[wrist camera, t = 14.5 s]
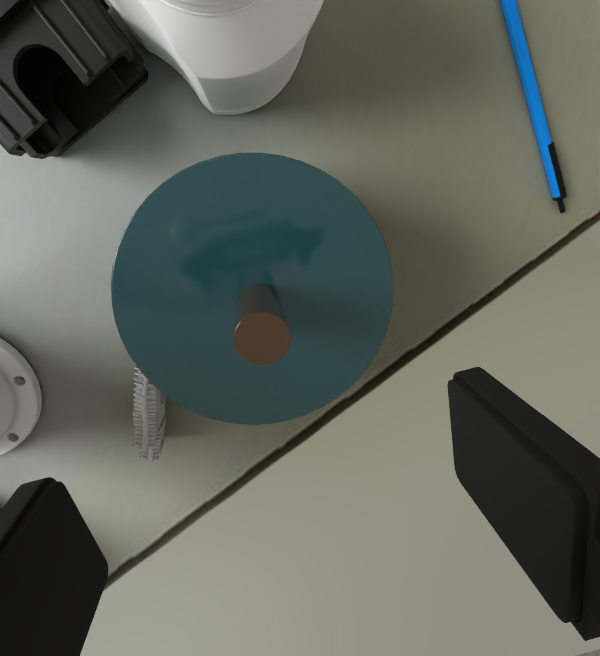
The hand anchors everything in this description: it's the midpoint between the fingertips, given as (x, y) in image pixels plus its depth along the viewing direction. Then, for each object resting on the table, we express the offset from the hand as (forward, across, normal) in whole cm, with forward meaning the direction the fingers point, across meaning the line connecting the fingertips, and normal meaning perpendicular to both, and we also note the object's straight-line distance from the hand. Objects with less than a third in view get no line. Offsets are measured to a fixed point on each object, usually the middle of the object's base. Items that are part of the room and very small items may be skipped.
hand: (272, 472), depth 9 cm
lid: (+15, 0, 0) cm, 15 cm away
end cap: (+24, +9, -16) cm, 31 cm away
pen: (+25, -24, -8) cm, 35 cm away
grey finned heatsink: (+24, +11, +8) cm, 28 cm away
